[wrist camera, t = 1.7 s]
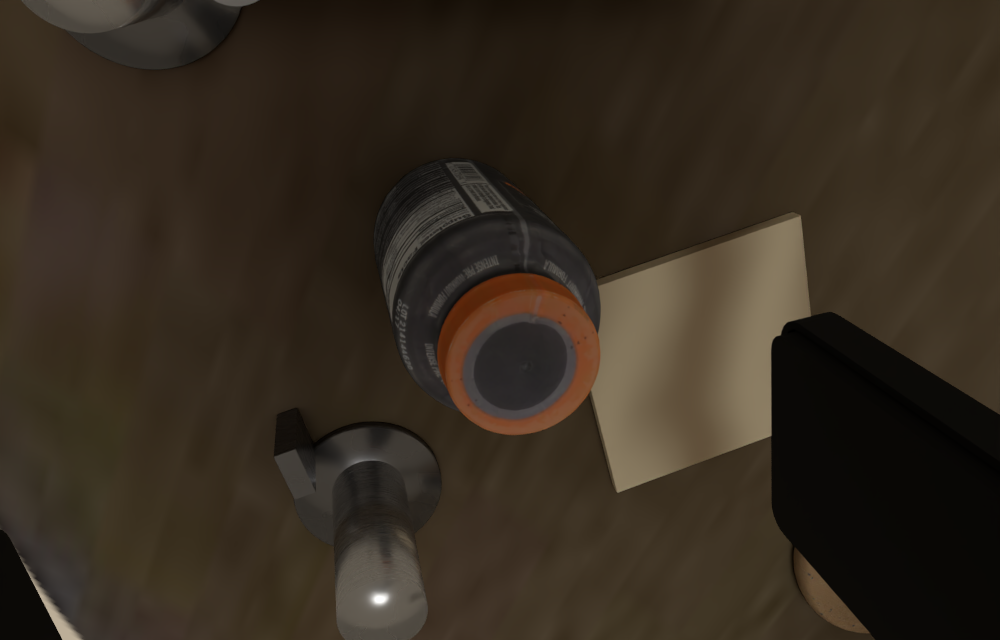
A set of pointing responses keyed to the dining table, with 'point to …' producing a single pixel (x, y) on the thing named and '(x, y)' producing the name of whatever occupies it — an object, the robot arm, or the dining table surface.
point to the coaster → (694, 349)
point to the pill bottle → (487, 297)
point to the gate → (236, 2)
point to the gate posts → (305, 466)
